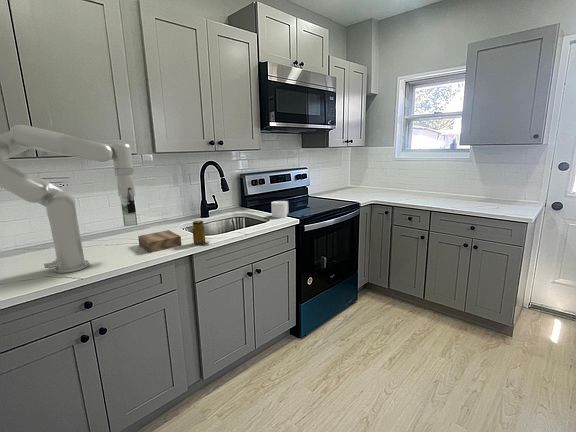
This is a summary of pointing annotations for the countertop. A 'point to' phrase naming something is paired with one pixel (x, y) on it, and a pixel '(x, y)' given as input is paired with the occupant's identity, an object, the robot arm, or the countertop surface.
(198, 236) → the condiment
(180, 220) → the countertop surface
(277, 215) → the toilet tissue
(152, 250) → the block
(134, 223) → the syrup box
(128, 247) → the countertop surface
